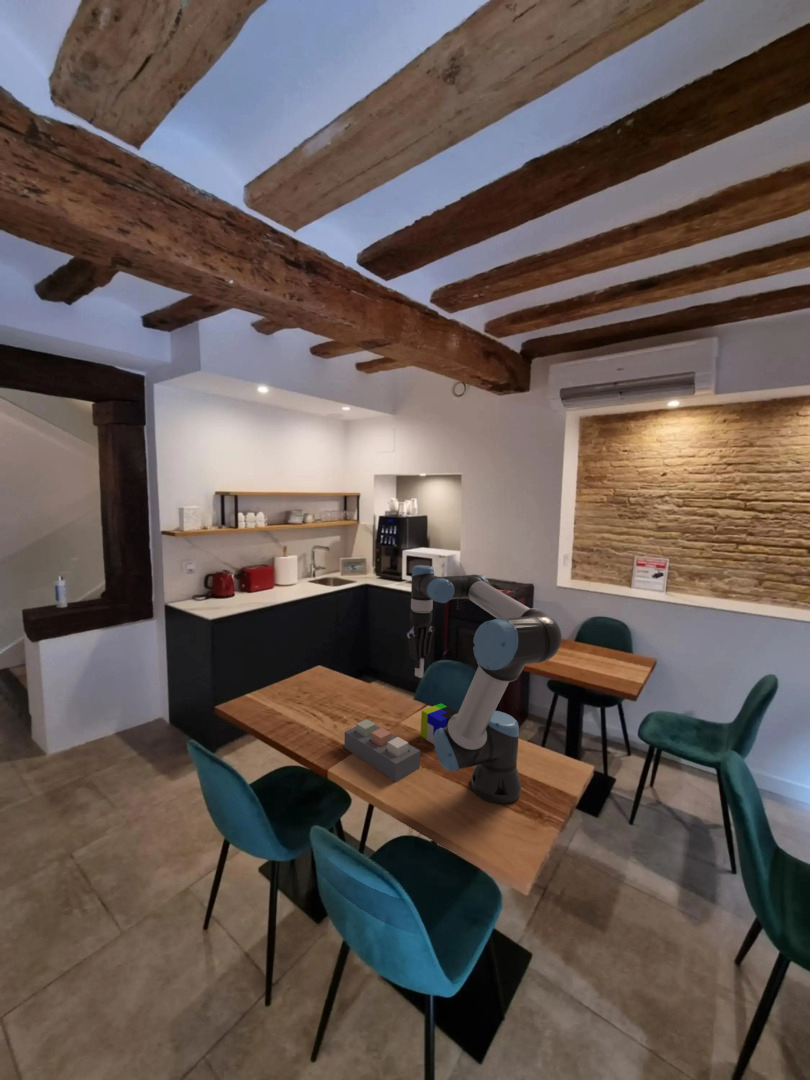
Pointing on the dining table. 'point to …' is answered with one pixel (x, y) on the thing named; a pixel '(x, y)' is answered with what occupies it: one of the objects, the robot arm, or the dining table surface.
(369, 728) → the key sage
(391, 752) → the key ivory
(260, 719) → the dining table surface
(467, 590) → the robot arm
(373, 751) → the console
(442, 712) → the puzzle toy
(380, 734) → the key terracotta
